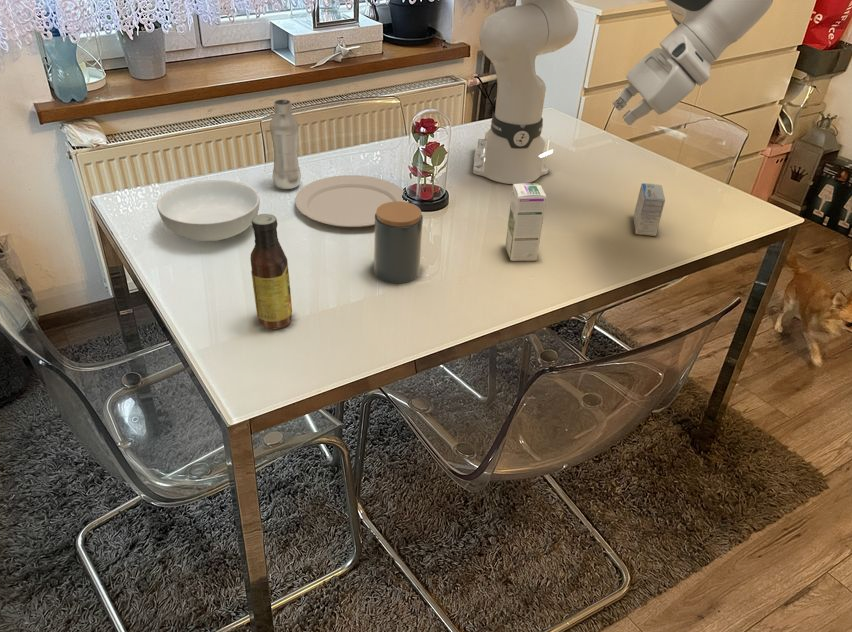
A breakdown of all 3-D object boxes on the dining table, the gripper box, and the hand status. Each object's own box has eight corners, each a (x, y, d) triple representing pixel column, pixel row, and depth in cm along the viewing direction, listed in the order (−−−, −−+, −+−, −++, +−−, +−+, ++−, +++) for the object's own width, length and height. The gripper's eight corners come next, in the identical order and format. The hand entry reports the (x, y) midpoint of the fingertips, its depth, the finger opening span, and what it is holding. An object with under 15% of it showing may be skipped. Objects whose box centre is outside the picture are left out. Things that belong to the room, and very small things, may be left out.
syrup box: (537, 261, 149) (548, 195, 140) (508, 261, 148) (518, 195, 140) (531, 247, 153) (542, 182, 144) (503, 247, 153) (512, 182, 144)
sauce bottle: (299, 323, 130) (292, 222, 117) (267, 335, 127) (258, 232, 115) (281, 306, 134) (273, 207, 122) (250, 316, 131) (239, 216, 119)
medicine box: (655, 237, 158) (666, 200, 153) (634, 234, 159) (644, 197, 153) (652, 220, 164) (662, 184, 159) (632, 218, 165) (641, 182, 160)
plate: (332, 174, 180) (332, 166, 178) (427, 198, 170) (427, 190, 169) (273, 216, 161) (272, 208, 160) (375, 245, 152) (375, 236, 151)
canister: (372, 259, 148) (373, 200, 140) (417, 259, 148) (420, 200, 140) (375, 283, 141) (376, 223, 133) (421, 283, 141) (425, 222, 133)
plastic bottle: (267, 185, 174) (261, 101, 162) (291, 178, 177) (286, 95, 165) (283, 195, 170) (278, 109, 158) (307, 187, 174) (303, 102, 162)
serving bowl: (256, 203, 166) (254, 175, 162) (267, 248, 150) (264, 218, 146) (162, 211, 162) (156, 182, 158) (162, 259, 146) (156, 228, 142)
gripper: (658, 30, 135) (599, 88, 141) (688, 54, 118) (619, 118, 124) (680, 55, 137) (620, 110, 143) (712, 81, 120) (643, 143, 126)
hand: (620, 114), depth 133 cm, fingers open, 8 cm apart
